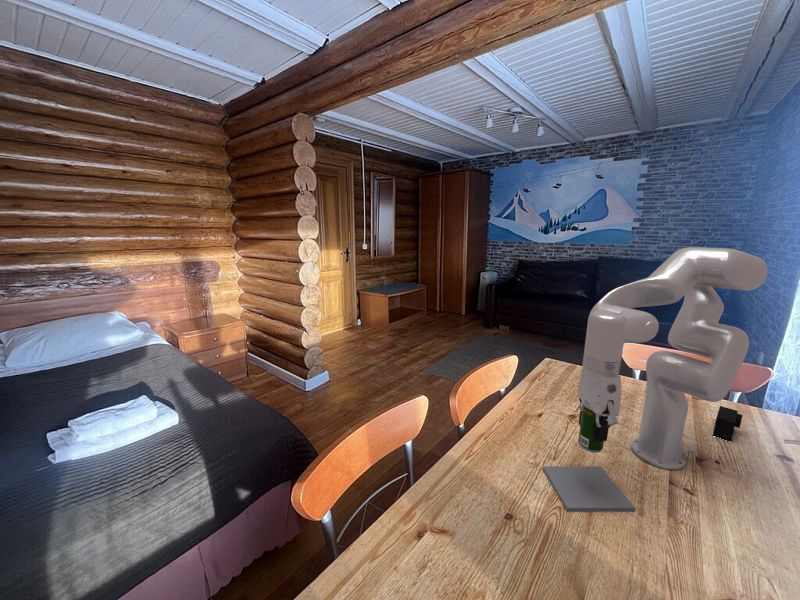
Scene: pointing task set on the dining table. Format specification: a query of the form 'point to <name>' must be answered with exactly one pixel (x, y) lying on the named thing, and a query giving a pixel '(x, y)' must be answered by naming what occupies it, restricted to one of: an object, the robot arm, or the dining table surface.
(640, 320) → the robot arm
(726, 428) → the digital camera
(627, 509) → the mat
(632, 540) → the dining table surface
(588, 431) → the beer can
